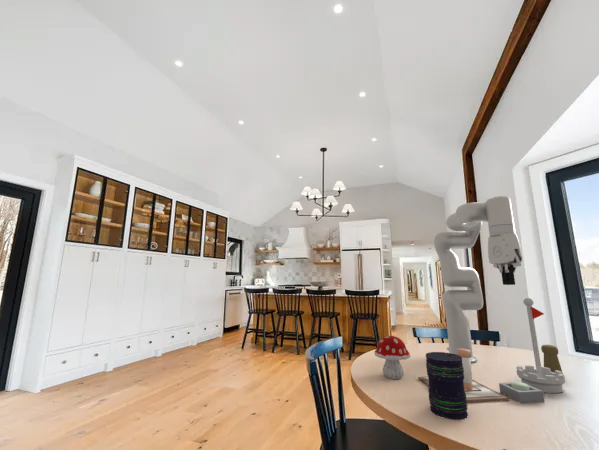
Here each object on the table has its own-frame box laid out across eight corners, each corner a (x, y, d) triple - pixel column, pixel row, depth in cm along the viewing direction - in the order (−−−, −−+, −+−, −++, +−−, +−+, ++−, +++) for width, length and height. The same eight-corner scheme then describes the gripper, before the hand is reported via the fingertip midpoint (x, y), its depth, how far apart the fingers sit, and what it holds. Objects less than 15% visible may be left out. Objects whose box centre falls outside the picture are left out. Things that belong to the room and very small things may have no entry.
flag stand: (509, 382, 106) (497, 297, 112) (538, 379, 108) (525, 296, 114) (545, 395, 93) (530, 299, 99) (577, 392, 96) (560, 298, 102)
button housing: (500, 392, 96) (499, 383, 97) (522, 391, 97) (521, 382, 97) (520, 403, 88) (519, 392, 89) (544, 401, 89) (543, 391, 90)
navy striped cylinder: (451, 423, 76) (445, 362, 79) (422, 408, 85) (417, 354, 88) (476, 415, 80) (470, 358, 83) (446, 402, 89) (441, 350, 92)
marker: (457, 385, 100) (454, 348, 102) (468, 385, 100) (465, 348, 102) (464, 389, 96) (461, 351, 98) (475, 389, 96) (472, 351, 98)
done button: (509, 394, 95) (507, 382, 95) (522, 393, 95) (520, 381, 96) (520, 399, 90) (519, 387, 91) (534, 399, 91) (532, 386, 91)
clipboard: (417, 379, 110) (417, 375, 110) (463, 377, 112) (462, 373, 112) (453, 403, 88) (452, 398, 88) (509, 400, 90) (508, 395, 90)
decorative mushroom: (380, 369, 122) (378, 331, 125) (415, 374, 115) (412, 334, 118) (370, 379, 110) (368, 337, 113) (409, 385, 104) (406, 340, 106)
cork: (567, 378, 110) (562, 347, 112) (549, 377, 111) (544, 346, 113) (557, 373, 115) (552, 343, 117) (540, 372, 117) (535, 343, 119)
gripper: (477, 234, 109) (483, 284, 106) (509, 227, 95) (517, 285, 91) (495, 234, 110) (502, 284, 107) (530, 228, 95) (539, 285, 92)
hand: (509, 284), depth 99 cm, fingers closed
